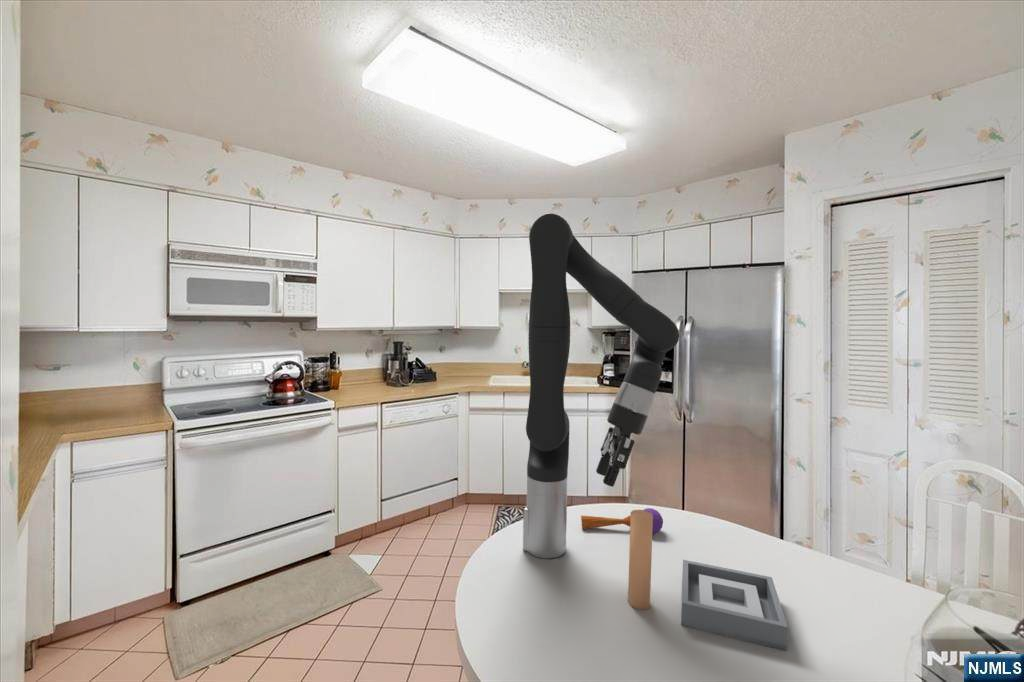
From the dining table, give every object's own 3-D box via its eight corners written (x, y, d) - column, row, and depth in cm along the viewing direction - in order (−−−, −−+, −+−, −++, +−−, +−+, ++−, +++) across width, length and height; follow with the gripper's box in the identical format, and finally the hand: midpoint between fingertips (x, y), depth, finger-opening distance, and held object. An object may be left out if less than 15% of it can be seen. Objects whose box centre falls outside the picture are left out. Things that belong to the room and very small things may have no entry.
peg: (626, 606, 83) (629, 516, 82) (629, 593, 87) (631, 508, 86) (649, 611, 82) (652, 520, 81) (650, 598, 86) (653, 511, 85)
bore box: (681, 624, 79) (681, 602, 78) (682, 578, 93) (682, 559, 92) (786, 650, 73) (787, 627, 73) (770, 597, 87) (771, 577, 86)
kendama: (580, 507, 117) (658, 505, 115) (581, 531, 117) (660, 529, 115) (581, 513, 111) (664, 511, 110) (583, 538, 111) (666, 536, 109)
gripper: (608, 398, 103) (582, 465, 102) (622, 404, 89) (592, 481, 88) (638, 410, 103) (613, 477, 102) (657, 418, 88) (628, 496, 88)
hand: (603, 479), depth 95 cm, fingers open, 8 cm apart
